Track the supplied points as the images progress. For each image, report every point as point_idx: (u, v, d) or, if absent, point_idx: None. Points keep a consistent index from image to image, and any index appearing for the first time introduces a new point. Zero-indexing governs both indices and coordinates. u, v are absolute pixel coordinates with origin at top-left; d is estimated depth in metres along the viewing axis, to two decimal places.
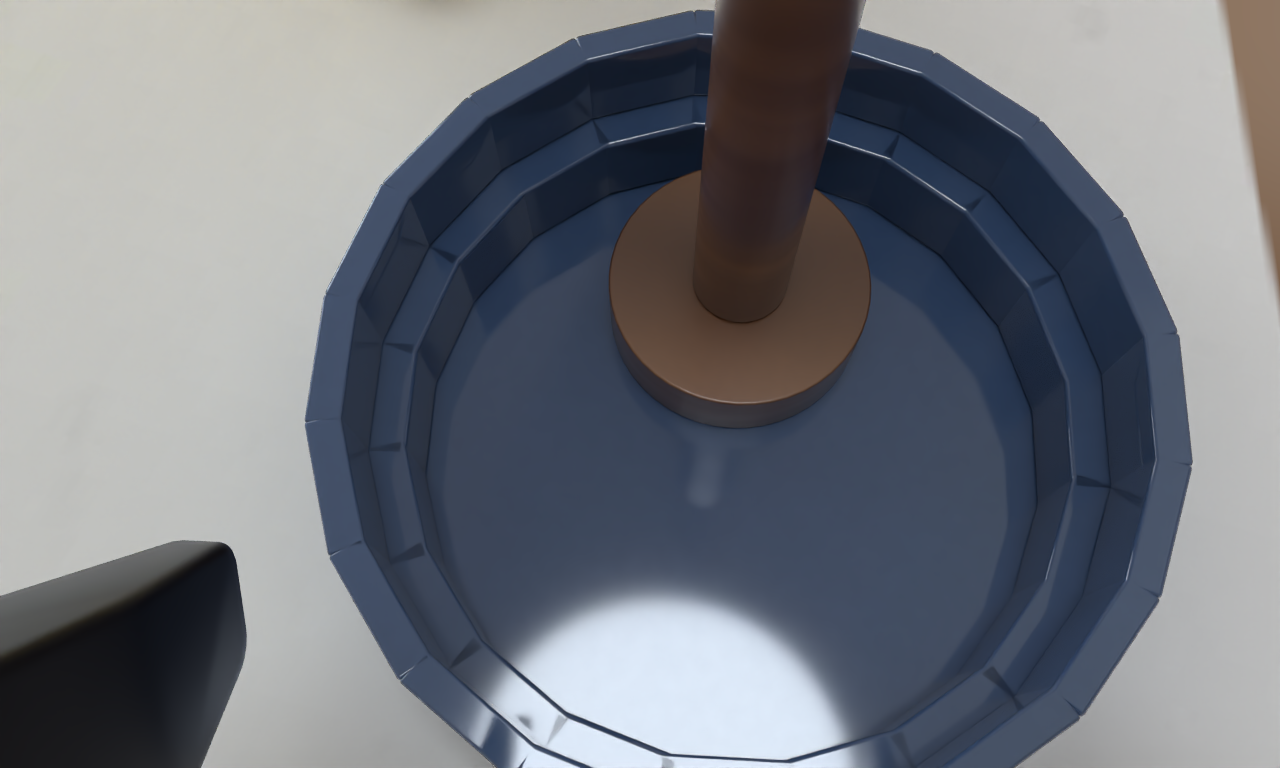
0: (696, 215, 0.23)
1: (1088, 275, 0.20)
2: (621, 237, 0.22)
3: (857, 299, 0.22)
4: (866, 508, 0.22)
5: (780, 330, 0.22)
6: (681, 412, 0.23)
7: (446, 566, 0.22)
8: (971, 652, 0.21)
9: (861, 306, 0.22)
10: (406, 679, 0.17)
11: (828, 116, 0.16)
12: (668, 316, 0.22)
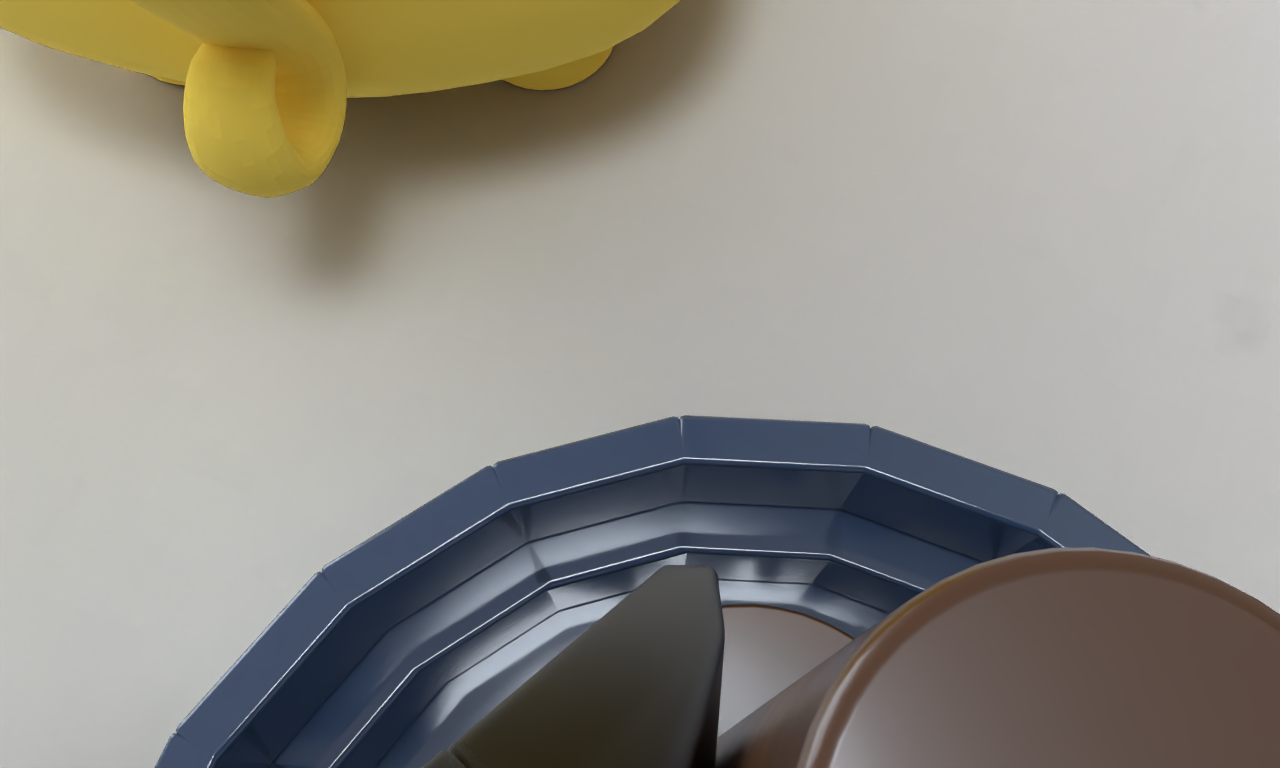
0: None
1: None
2: None
3: None
4: None
5: None
6: None
7: None
8: None
9: None
10: None
11: None
12: None
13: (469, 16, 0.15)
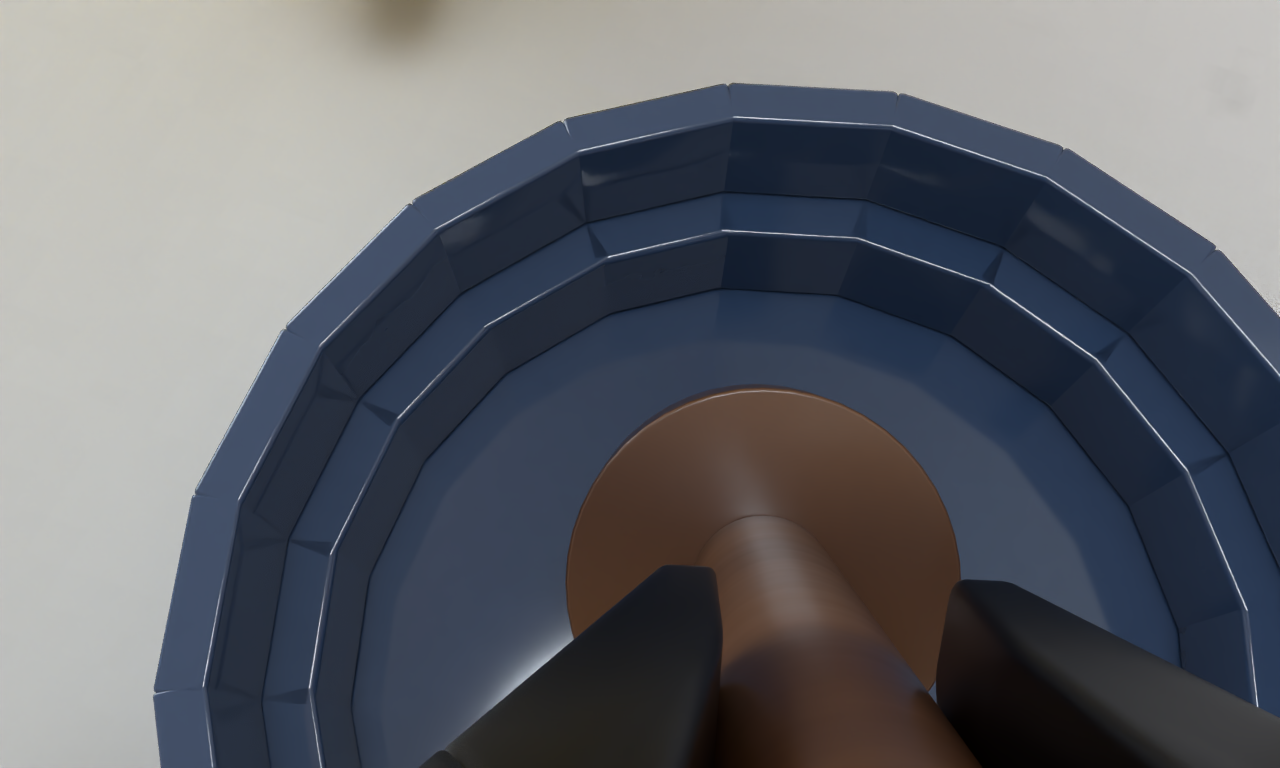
0: (708, 473, 0.15)
1: None
2: (591, 497, 0.15)
3: (935, 633, 0.15)
4: None
5: None
6: None
7: None
8: None
9: (939, 644, 0.15)
10: None
11: None
12: None
13: None
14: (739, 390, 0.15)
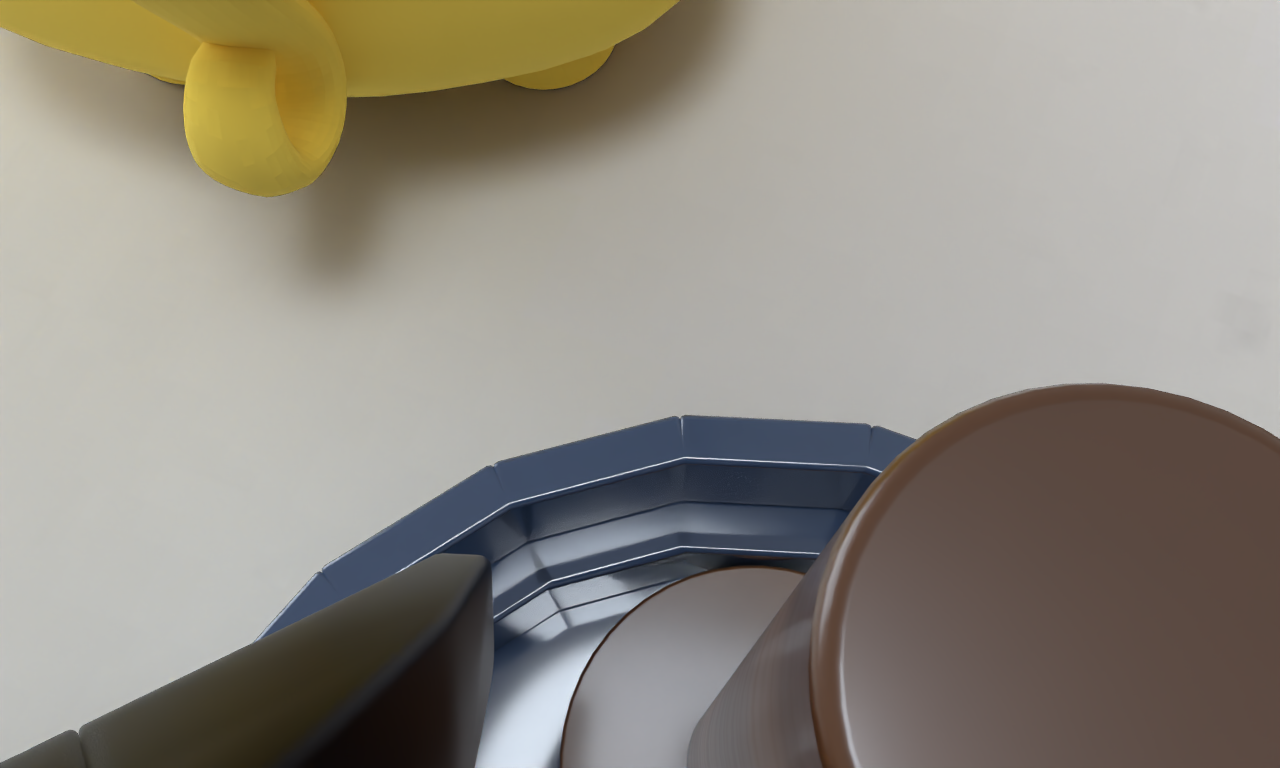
0: (722, 639, 0.15)
1: None
2: (604, 644, 0.15)
3: None
4: None
5: None
6: None
7: None
8: None
9: None
10: None
11: None
12: None
13: (470, 16, 0.15)
14: (763, 566, 0.15)
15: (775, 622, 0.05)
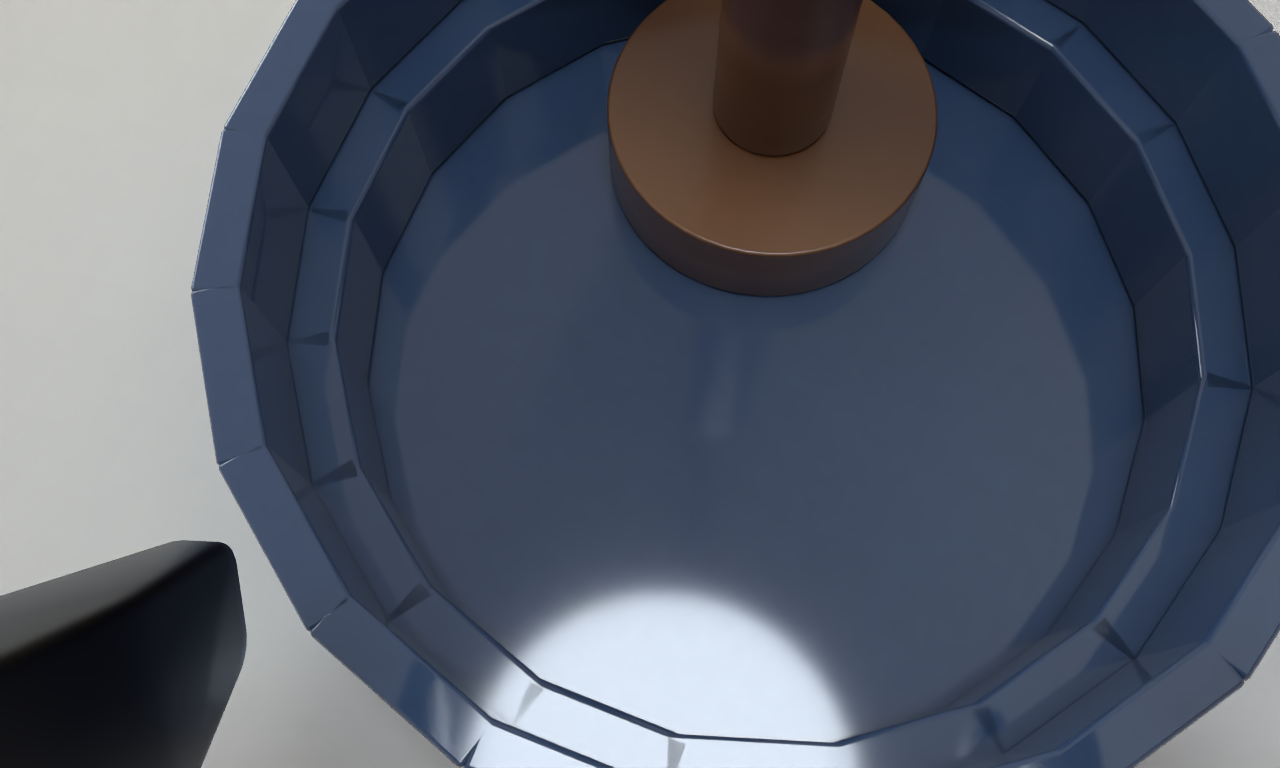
0: None
1: (1222, 114, 0.16)
2: (643, 24, 0.18)
3: (911, 161, 0.17)
4: (927, 426, 0.17)
5: (805, 175, 0.17)
6: (663, 254, 0.18)
7: (392, 498, 0.17)
8: (1064, 606, 0.16)
9: (914, 170, 0.17)
10: (318, 630, 0.13)
11: None
12: (672, 126, 0.17)
13: None
14: None
15: None
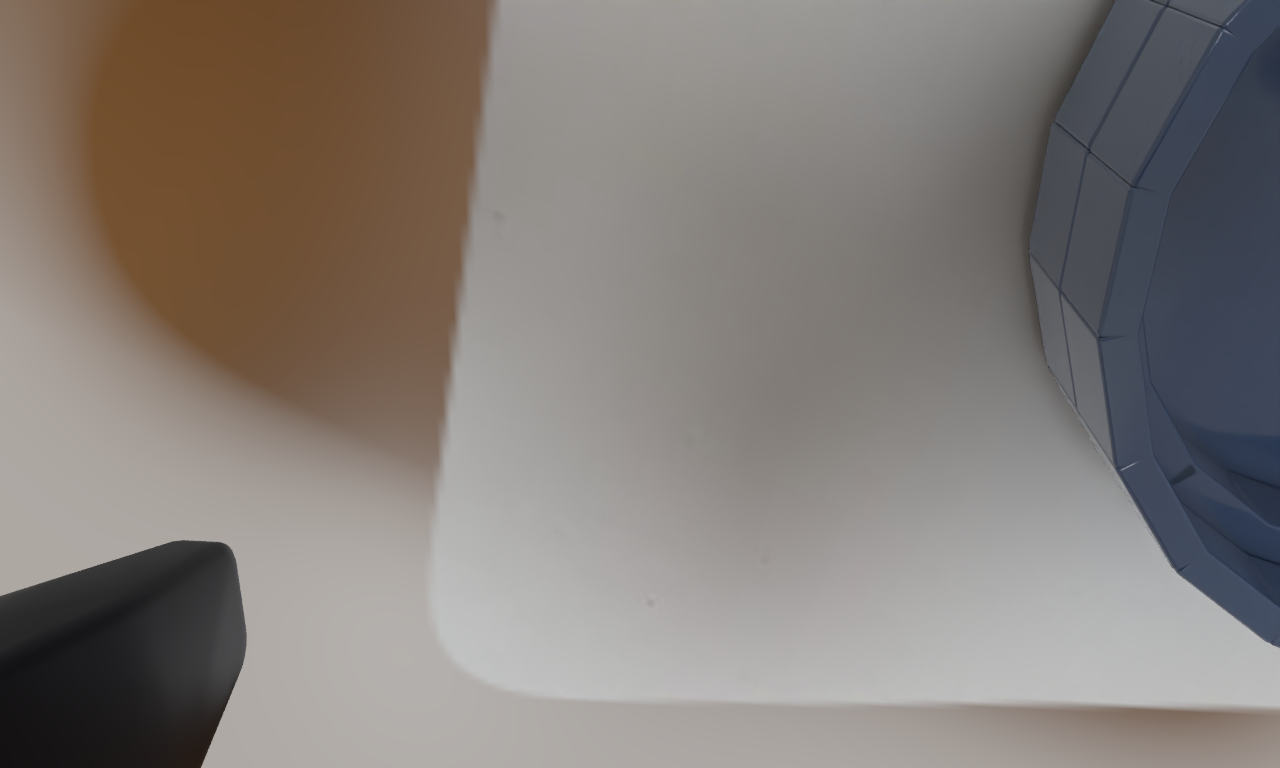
0: None
1: None
2: None
3: None
4: None
5: None
6: None
7: None
8: (1177, 430, 0.22)
9: None
10: None
11: None
12: None
13: None
14: None
15: None
